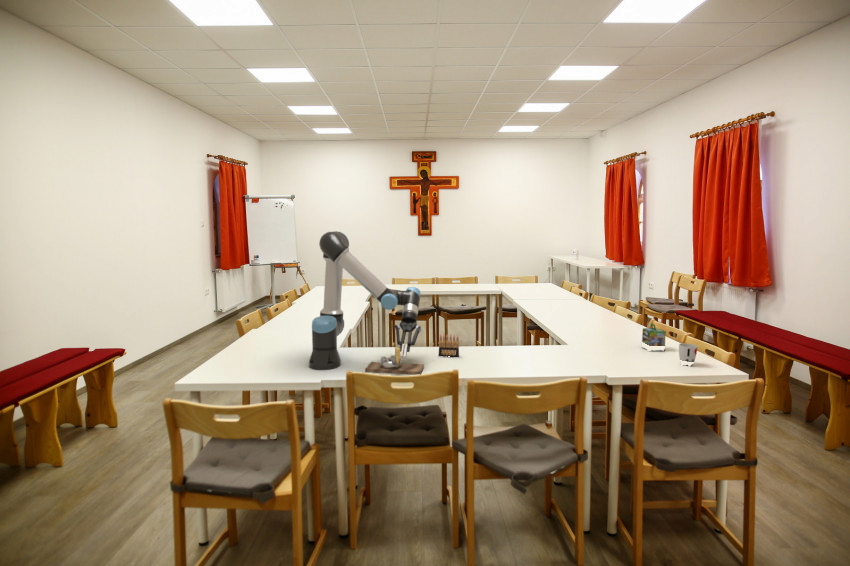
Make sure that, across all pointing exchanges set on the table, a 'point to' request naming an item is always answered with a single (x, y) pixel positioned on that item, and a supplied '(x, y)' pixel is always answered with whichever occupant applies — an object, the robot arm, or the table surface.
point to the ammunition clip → (449, 346)
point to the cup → (687, 352)
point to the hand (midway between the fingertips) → (403, 357)
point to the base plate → (403, 369)
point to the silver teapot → (392, 360)
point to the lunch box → (653, 336)
